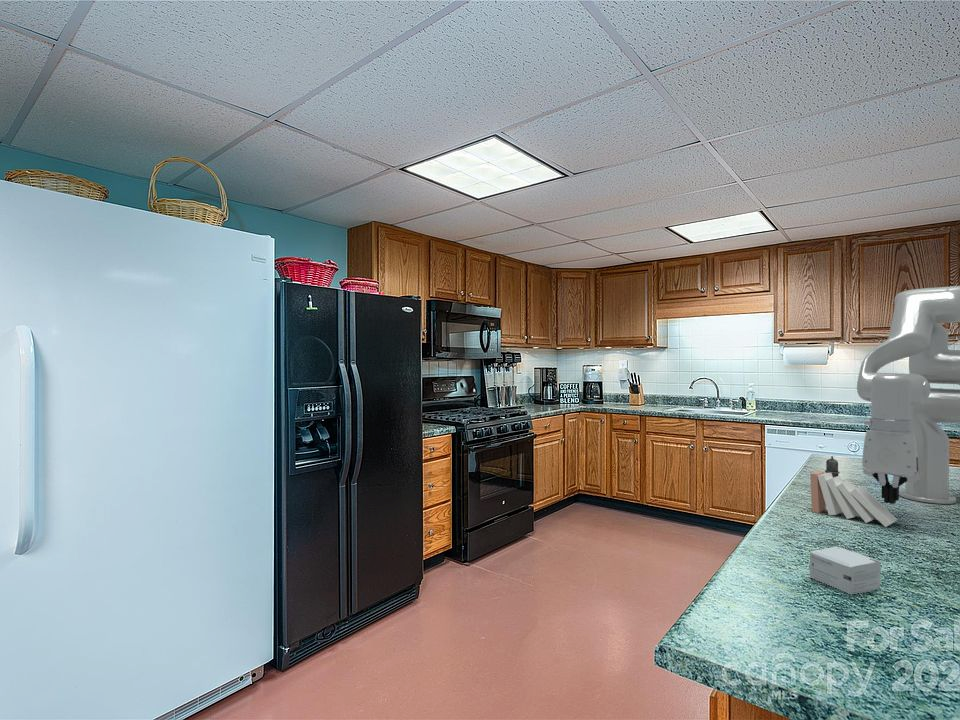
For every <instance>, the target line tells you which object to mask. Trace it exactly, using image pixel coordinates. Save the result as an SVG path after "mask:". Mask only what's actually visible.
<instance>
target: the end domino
mask: <svg viewBox="0 0 960 720" xmlns="http://www.w3.org/2000/svg"><path fill="white" fill-rule="evenodd" d="M824 473H826V472H825V471H821V470H820V471H819V470H816V471H814V472H811V473H810V474H809V479H810V500H811V501H810V502H811V513H816V514H820V513H822V512H825V511H826V510H827V507H826V504H825V500H824V497H823V493H822V490H821V487H820V483H819V480H818V475H821V474H824Z"/></svg>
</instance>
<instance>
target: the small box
mask: <svg viewBox="0 0 960 720" xmlns="http://www.w3.org/2000/svg"><path fill="white" fill-rule="evenodd" d="M881 567H882V562H881V561H880V560H878V559H876V558H872V557H869V556H866V555H864V554H862V553H859V552H857V551H856V552H855V551H852V550H849V549H847V548H844V547H840V546H832V547H827V548H822V549H817V550H811V551H809V579H811V578H813V579H812V580H814V579H815V580H814V581H817V582H819V581H820V582H819V583H821V582H822V584H824V583H825V584H824V585H826V584H827V585H826V586H828V585H830V586H829V587H831V586H832V587H831V588H833V587H834V588H833V589H835V588H837V589H839V590H838V591H840V590H841V591H840V592H842V591H844V592H846V593H848V594H847V595H849V594H851V595H850V596H853V595H852V594H856V595H858V594H857V593H860V594H863V593H862V592H864V593H868V592H871V590H873V591H876V590H875V589H877V590H880V589H881V572H882V569H881ZM879 588H880V589H879ZM837 589H836V590H837ZM867 591H868V592H867ZM844 592H843V593H844ZM846 593H845V594H846Z"/></svg>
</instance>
